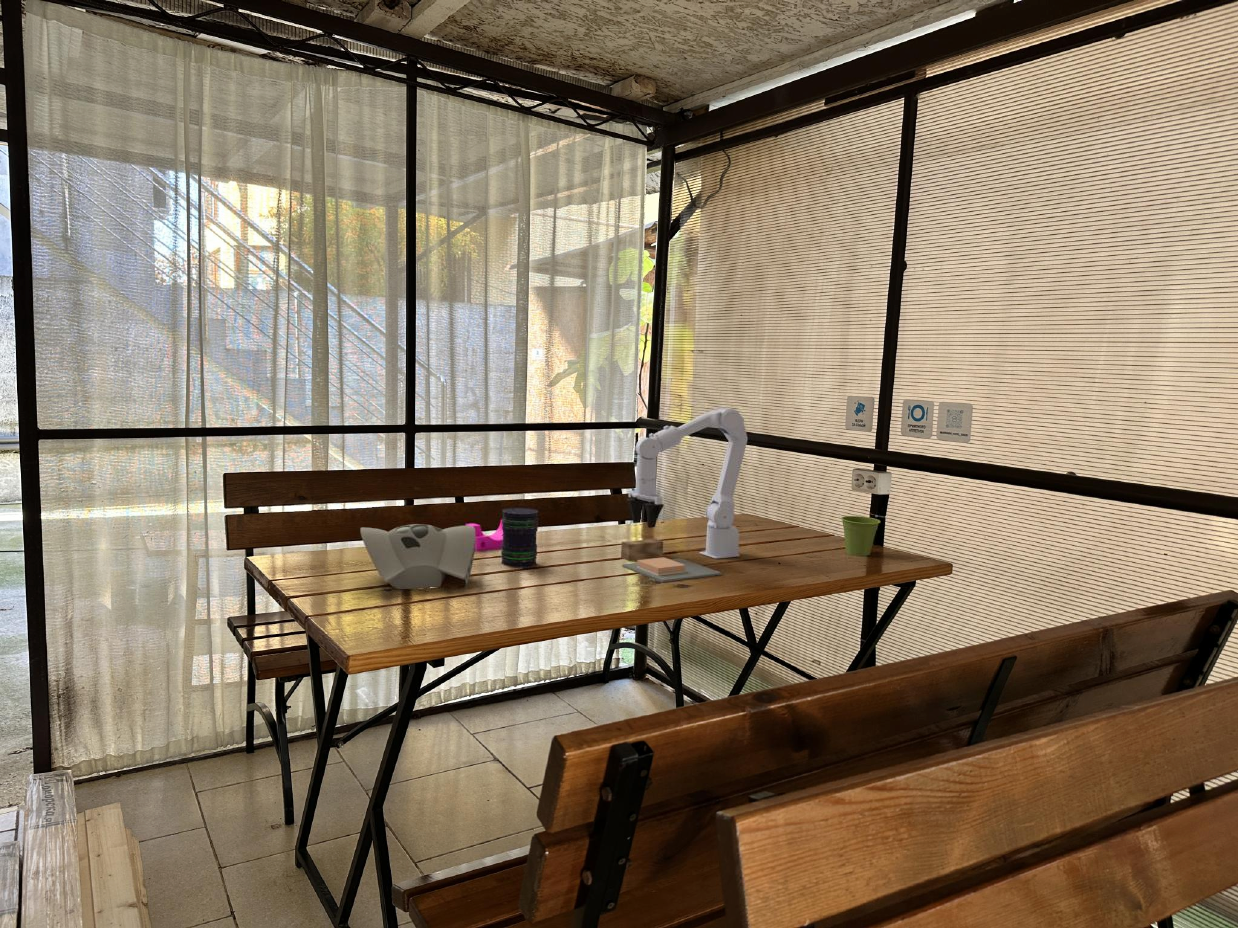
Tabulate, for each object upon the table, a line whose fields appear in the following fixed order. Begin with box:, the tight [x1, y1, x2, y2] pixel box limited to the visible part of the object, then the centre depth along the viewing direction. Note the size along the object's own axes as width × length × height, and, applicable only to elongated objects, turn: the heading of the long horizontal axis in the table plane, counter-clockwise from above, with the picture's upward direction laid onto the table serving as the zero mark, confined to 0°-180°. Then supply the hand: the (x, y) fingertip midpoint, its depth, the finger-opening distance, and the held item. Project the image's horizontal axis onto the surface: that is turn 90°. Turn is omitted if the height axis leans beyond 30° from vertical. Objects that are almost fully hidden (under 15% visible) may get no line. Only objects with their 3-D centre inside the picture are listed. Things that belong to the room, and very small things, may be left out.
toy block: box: [464, 519, 503, 552], centre depth 256 cm, size 15×6×8 cm, turn 135°
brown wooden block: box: [620, 538, 664, 562], centre depth 251 cm, size 12×4×5 cm, turn 123°
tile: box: [636, 556, 685, 576], centre depth 234 cm, size 2×10×9 cm
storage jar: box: [500, 507, 539, 569], centre depth 236 cm, size 10×10×15 cm
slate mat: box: [622, 557, 723, 583], centre depth 236 cm, size 20×19×1 cm
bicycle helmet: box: [359, 523, 476, 590], centre depth 213 cm, size 28×25×16 cm
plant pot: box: [840, 515, 881, 557], centre depth 267 cm, size 12×12×11 cm
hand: (643, 524), depth 252 cm, fingers open, 7 cm apart
